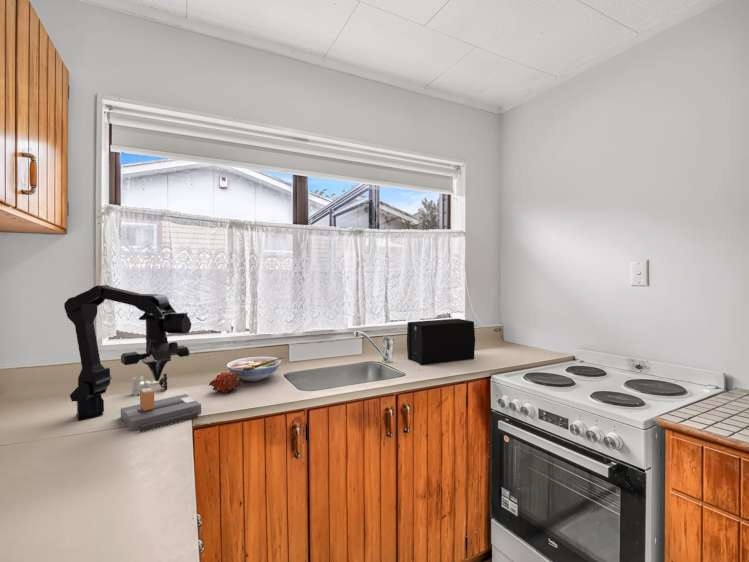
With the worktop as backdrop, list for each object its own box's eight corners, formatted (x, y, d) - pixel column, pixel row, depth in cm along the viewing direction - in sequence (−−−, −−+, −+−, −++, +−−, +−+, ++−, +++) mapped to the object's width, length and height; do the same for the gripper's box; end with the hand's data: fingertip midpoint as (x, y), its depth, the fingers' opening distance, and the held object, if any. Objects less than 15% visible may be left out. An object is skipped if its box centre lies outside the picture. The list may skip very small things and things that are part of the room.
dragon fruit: (244, 394, 148) (211, 402, 145) (242, 377, 154) (211, 384, 151) (240, 381, 143) (207, 388, 139) (239, 364, 149) (207, 371, 146)
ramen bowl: (255, 369, 180) (254, 352, 179) (293, 374, 170) (293, 357, 170) (212, 383, 157) (212, 364, 157) (254, 391, 147) (253, 370, 147)
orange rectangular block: (143, 410, 117) (143, 392, 117) (140, 407, 120) (139, 389, 120) (154, 408, 119) (154, 390, 119) (150, 404, 123) (150, 387, 122)
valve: (131, 397, 141) (167, 391, 147) (130, 380, 141) (167, 375, 147) (131, 392, 146) (166, 387, 153) (131, 376, 146) (165, 371, 153)
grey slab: (141, 432, 110) (141, 426, 110) (126, 413, 124) (126, 409, 124) (197, 417, 121) (197, 412, 121) (178, 401, 136) (178, 397, 136)
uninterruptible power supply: (406, 359, 199) (406, 321, 198) (459, 353, 212) (459, 318, 211) (422, 366, 184) (422, 325, 183) (477, 359, 197) (477, 321, 196)
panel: (131, 431, 111) (130, 420, 110) (120, 417, 121) (120, 407, 121) (201, 413, 124) (201, 403, 124) (186, 402, 135) (186, 393, 135)
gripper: (128, 340, 109) (129, 393, 110) (195, 333, 122) (195, 380, 123) (120, 335, 117) (120, 384, 117) (183, 329, 130) (184, 373, 131)
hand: (156, 380), depth 122 cm, fingers closed
